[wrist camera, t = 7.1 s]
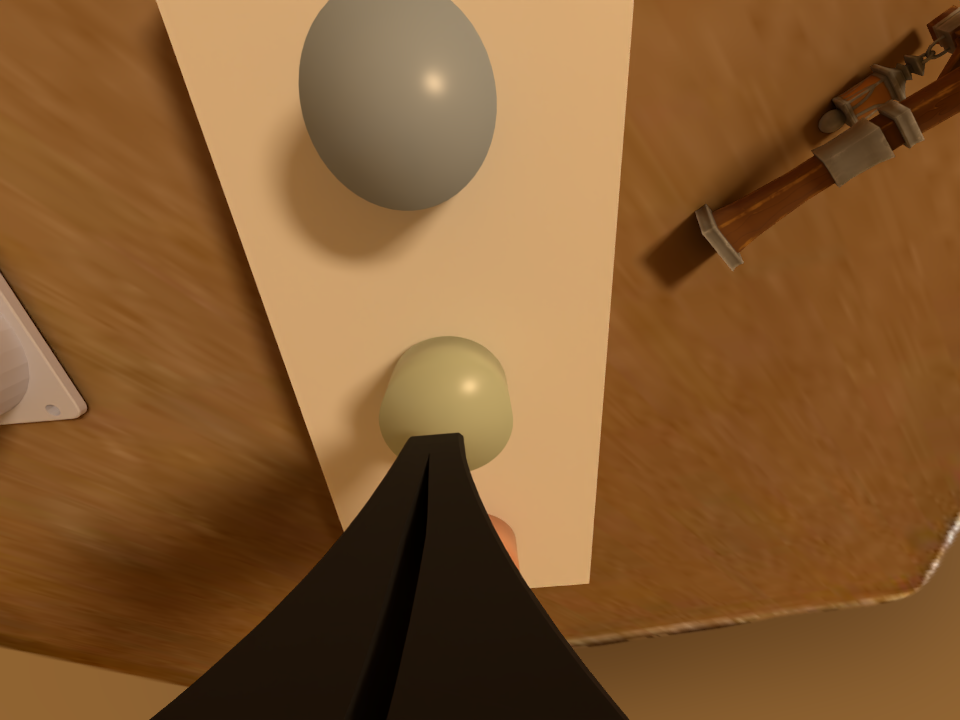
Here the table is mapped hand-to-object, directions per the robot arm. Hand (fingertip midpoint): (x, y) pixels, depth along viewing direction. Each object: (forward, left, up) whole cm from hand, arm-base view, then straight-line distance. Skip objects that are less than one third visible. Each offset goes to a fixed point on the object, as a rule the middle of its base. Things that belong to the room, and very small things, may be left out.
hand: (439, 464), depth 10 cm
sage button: (0, 0, -5) cm, 5 cm away
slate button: (0, +8, -5) cm, 9 cm away
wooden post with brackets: (+12, +7, -7) cm, 15 cm away
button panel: (0, 0, -6) cm, 6 cm away
